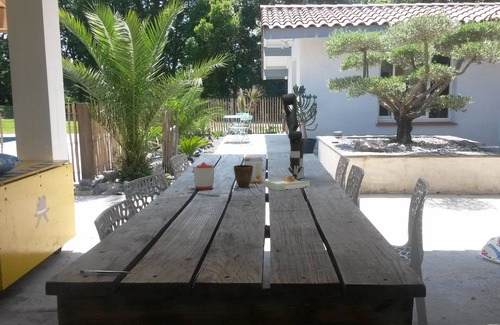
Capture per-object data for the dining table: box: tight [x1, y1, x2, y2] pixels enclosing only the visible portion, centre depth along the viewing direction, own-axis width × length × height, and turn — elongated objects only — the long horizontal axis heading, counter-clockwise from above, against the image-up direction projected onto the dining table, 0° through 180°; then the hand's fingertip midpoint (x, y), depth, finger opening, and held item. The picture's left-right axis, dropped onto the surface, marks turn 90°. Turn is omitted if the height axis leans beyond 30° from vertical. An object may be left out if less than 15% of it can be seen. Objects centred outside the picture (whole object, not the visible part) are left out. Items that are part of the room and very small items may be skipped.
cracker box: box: [243, 156, 263, 184], centre depth 387 cm, size 14×6×21 cm, turn 84°
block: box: [283, 175, 294, 182], centre depth 374 cm, size 6×5×4 cm
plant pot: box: [233, 164, 253, 189], centre depth 366 cm, size 15×15×16 cm
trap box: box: [263, 178, 311, 191], centre depth 368 cm, size 28×20×4 cm
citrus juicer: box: [191, 161, 215, 191], centre depth 361 cm, size 16×17×20 cm
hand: (294, 178), depth 377 cm, fingers closed
